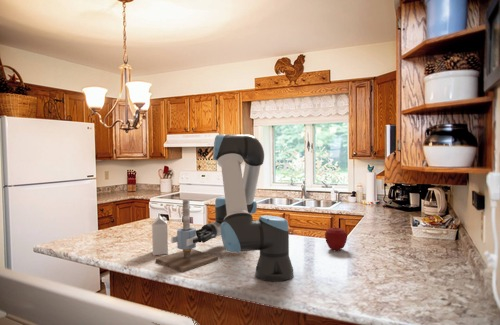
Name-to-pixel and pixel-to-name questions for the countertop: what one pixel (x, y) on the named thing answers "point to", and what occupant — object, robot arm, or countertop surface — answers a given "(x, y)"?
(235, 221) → the robot arm
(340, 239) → the apple
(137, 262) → the countertop surface
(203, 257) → the post stand
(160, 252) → the milk carton
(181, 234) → the sleeve
